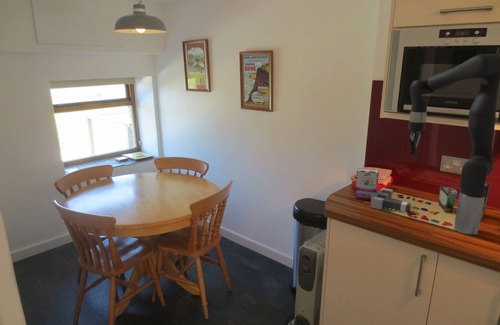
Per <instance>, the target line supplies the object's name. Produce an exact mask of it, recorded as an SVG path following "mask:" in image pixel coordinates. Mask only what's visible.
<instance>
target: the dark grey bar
mask: <svg viewBox="0 0 500 325" xmlns="http://www.w3.org/2000/svg"><path fill="white" fill-rule="evenodd" d="M379 198H383V199H384V201H383V207H386V208H385V209H387V208H391V209H390V210H392V209H395V210H394V211H396V210H399V211H398V212H400V211H402V212H401V213H404V212H407V213H406V214H409V213H410V211H411V207H412V206H411V205H412V204H411V203H410V202H407V201H401V200H396V199H393V198H392V199H388V198H384V197H379ZM408 212H409V213H408Z"/></svg>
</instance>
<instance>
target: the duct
mask: <svg viewBox="0 0 500 325" xmlns="http://www.w3.org/2000/svg"><path fill="white" fill-rule="evenodd" d="M393 192H394V190H393V189H391V188H390V189H389V188H386V187H382V188H381V189H380V190H379V191H378V190H377V191H376V192H375V193H374V194H373V195H372V196H371V200H370V208H374V209H378V210H382V209H383V201H384V199H383V198H379V197H384V198H388V199H393Z"/></svg>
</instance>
